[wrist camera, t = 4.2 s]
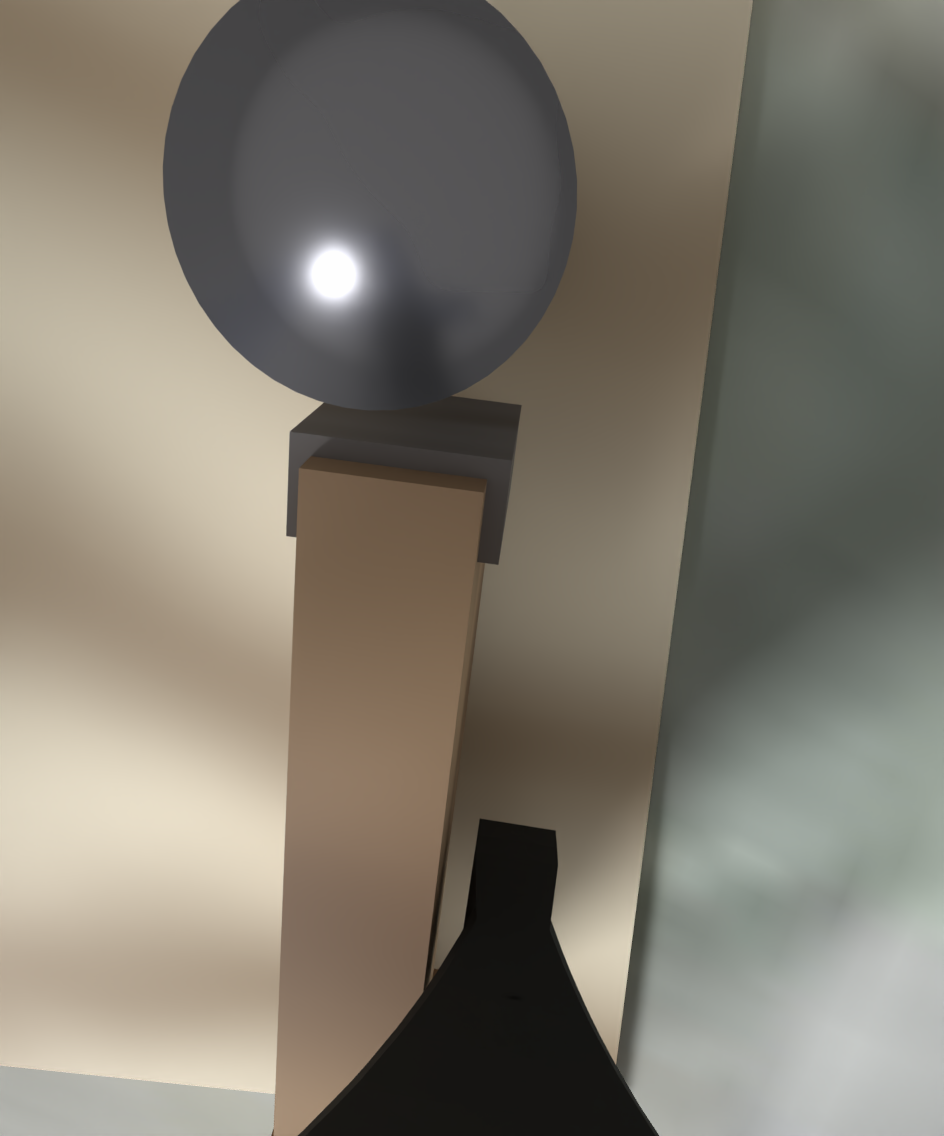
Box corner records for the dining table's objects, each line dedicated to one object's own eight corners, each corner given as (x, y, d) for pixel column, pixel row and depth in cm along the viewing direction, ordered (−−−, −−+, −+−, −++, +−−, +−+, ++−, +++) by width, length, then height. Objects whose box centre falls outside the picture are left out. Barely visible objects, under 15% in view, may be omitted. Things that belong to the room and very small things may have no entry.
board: (606, 1106, 16) (608, 1128, 16) (-229, 1021, 17) (-246, 1040, 17) (759, -96, 9) (766, -108, 9) (-638, -111, 10) (-682, -122, 10)
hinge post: (558, 313, 11) (561, 420, 6) (366, 304, 11) (183, 400, 6) (573, 93, 10) (594, -40, 5) (364, 89, 10) (141, -48, 5)
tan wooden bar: (356, 374, 11) (261, 454, 7) (523, 396, 11) (508, 486, 7) (316, 1033, 15) (244, 1281, 11) (435, 1052, 15) (399, 1306, 11)
